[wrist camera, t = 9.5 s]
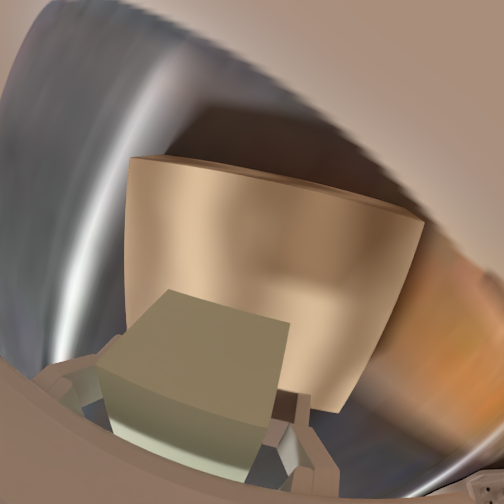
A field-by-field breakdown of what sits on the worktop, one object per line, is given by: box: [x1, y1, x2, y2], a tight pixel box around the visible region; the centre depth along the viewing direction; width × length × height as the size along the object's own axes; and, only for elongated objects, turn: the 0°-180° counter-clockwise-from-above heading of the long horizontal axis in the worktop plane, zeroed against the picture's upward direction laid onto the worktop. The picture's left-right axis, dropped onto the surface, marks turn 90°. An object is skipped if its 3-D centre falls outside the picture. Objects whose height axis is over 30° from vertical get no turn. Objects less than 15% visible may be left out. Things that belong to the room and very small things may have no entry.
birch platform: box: [124, 154, 425, 413], centre depth 18 cm, size 16×14×4 cm
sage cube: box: [95, 289, 290, 483], centre depth 10 cm, size 5×5×5 cm
